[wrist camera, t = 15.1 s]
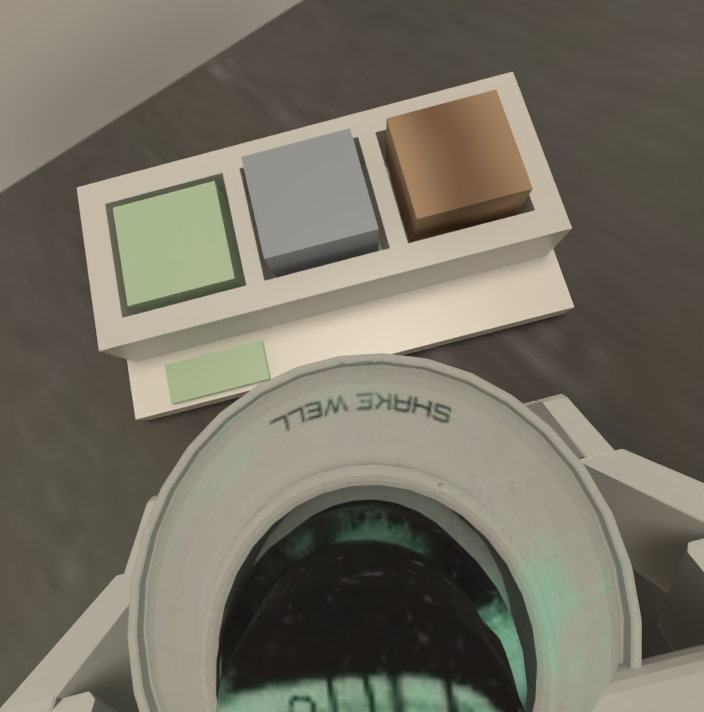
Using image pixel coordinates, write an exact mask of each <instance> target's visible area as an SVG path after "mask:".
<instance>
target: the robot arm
mask: <svg viewBox="0 0 704 712" xmlns="http://www.w3.org/2000/svg"><path fill="white" fill-rule="evenodd" d="M524 405H525V406H526V407H527V408H529V409H530V410H531V411H532V412H533V413H535V414H536V415H537V416H538V417H540V418H541V419H542V420H543V421H545V422H546V423H547V424H548V425H549V426H551V427H552V428H553V429H554V431H555V432H556V433H557V434H558V435H559V436H560V438H561V439H562V440H563V441H564V442H565V443H566V445H567V446H568V447H569V448H570V449H571V450H572V452H573V453H574V454H575V455H576V456H577V457H578V459H579V460H580V461H581V462H582V463H583V464H584V466H585V467H586V469H587V470H588V472H589V474H590V476H591V477H592V479H593V481H594V482H595V484H596V486H597V487H598V489H599V491H600V493H601V494H602V496H603V498H604V499H605V501H606V503H607V504H608V506H609V508H610V510H611V511H612V513H613V516H614V518H615V521H616V524H617V527H618V529H619V532H620V535H621V537H622V540H623V543H624V545H625V548H626V551H627V554H628V556H629V559H630V562H631V564H632V569H633V570H634V571H636V572H637V573H639V574H640V575H642V576H643V577H644V578H646V579H647V580H649V581H650V582H651V583H653V584H654V585H656V586H657V587H659V588H660V589H661V590H663V591H664V592H666V593H667V594H668V595H667V598H666V600H665V603H664V606H663V608H662V611H661V613H660V616H659V619H658V622H657V626H656V627H657V628H658V630H659V631H660V633H661V634H662V636H663V637H664V639H665V640H666V642H667V644H668V645H669V647H670V648H671V650H672V651H673V652H669V653H665V654H661V655H657V656H652V657H648V658H644V659H642V665H641V666H640V667H638V668H630V667H629V666H627V665H620V666H619V667H618V669H617V670H616V672H615V674H614V676H613V678H612V680H611V682H610V684H609V686H608V688H607V690H606V691H605V693H604V694H603V696H602V697H601V699H600V700H599V702H598V704H597V705H596V707H595V708H594V710H593V712H704V483H702V482H700V481H697V480H695V479H693V478H690V477H688V476H686V475H683V474H681V473H679V472H676V471H674V470H671V469H669V468H667V467H664V466H662V465H660V464H657V463H655V462H653V461H650V460H648V459H645V458H643V457H641V456H638V455H636V454H634V453H631V452H629V451H627V450H624V449H620V450H614V449H613V448H612V447H611V446H610V445H609V444H608V442H607V441H606V440H605V439H604V438H603V437H602V436H601V435H600V433H599V432H598V431H597V430H596V429H595V428H594V427H593V426H592V425H591V423H590V422H589V421H588V420H587V419H586V418H585V417H584V416H583V414H582V413H581V412H580V411H579V410H578V409H577V408H576V407H575V406H574V404H573V403H572V402H571V401H570V400H569V399H568V398H567V397H566V396H564V395H562V394H559V395H555V396H551V397H547V398H543V399H539V400H537V401H532V402H528V403H524ZM157 497H158V495H157V496H153V497H152V498H151V499H150V500H149V501H148V503H147V505H146V508H145V511H144V514H143V517H142V520H141V523H140V526H139V529H138V532H137V535H136V538H135V541H134V545H133V548H132V551H131V554H130V557H129V560H128V563H127V566H126V569H125V572H124V574H121V575H117V576H116V577H115V578H114V579H113V580H112V581H111V583H110V584H109V585H108V586H107V587H106V588H105V589H104V591H103V592H102V593H101V594H100V595H99V596H98V597H97V599H96V600H95V601H94V602H93V603H92V604H91V605H90V607H89V608H88V609H87V610H86V611H85V612H84V613H83V615H82V616H81V617H80V618H79V619H78V620H77V621H76V623H75V624H74V625H73V626H72V627H71V628H70V629H69V631H68V632H67V633H66V634H65V635H64V636H63V637H62V639H61V640H60V641H59V642H58V643H57V644H56V645H55V647H54V648H53V649H52V650H51V651H50V652H49V653H48V655H47V656H46V657H45V658H44V659H43V660H42V661H41V663H40V664H39V665H38V666H37V667H36V668H35V669H34V671H33V672H32V673H31V674H30V675H29V676H28V677H27V678H26V680H25V681H24V682H23V683H22V684H21V685H20V686H19V688H18V689H17V690H16V691H15V692H14V693H13V694H12V696H11V697H10V698H9V699H8V700H7V701H6V702H5V704H4V705H3V706H2V707H1V708H0V712H139V709H138V705H137V702H136V699H135V695H134V691H133V683H132V674H131V665H130V656H129V648H128V639H127V633H128V616H129V599H130V583H131V579H132V575H133V570H134V566H135V562H136V558H137V553H138V549H139V545H140V540H141V536H142V532H143V530H144V528H145V525H146V523H147V521H148V518H149V516H150V514H151V511H152V509H153V507H154V504H155V502H156V499H157Z"/></svg>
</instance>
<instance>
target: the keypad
mask: <svg viewBox="0 0 704 712" xmlns="http://www.w3.org/2000/svg"><path fill="white" fill-rule="evenodd" d="M492 90H497V92H498V95H499V98H500V101H501V103H502V106H503V109H504V111H505V114H506V117H507V120H508V122H509V125H510V128H511V131H512V133H513V136H514V139H515V142H516V144H517V147H518V150H519V152H520V155H521V158H522V161H523V163H524V166H525V169H526V172H527V174H528V177H529V180H530V183H531V185H532V188H533V189H532V191H531V192H530V194H529V196H528V197H527V199H526V200H525V202H524V204H523V205H522V207H521V208H520V210H519V212H518V213H517V215H515V216H511V217H508V218H504V219H500V220H496V221H492V222H488V223H485V224H481V225H477V226H473V227H469V228H465V229H462V230H458V231H454V232H450V233H446V234H442V235H439V236H435V237H431V238H427V239H423V240H419V241H415V242H412V243H410V241H409V237H408V234H407V231H406V227H405V224H404V220H403V217H402V214H401V210H400V207H399V204H398V200H397V197H396V193H395V190H394V187H393V183H392V180H391V177H390V173H389V170H388V166H387V163H386V118H390V117H394V116H398V115H401V114H405V113H409V112H413V111H416V110H420V109H424V108H428V107H431V106H435V105H439V104H443V103H447V102H450V101H454V100H458V99H462V98H465V97H469V96H473V95H477V94H480V93H484V92H488V91H492ZM349 128H350V130H351V133H352V137H353V140H354V144H355V147H356V151H357V154H358V158H359V162H360V165H361V169H362V172H363V176H364V179H365V183H366V186H367V190H368V193H369V197H370V200H371V204H372V208H373V211H374V215H375V218H376V222H377V225H378V229H379V251H377V252H373V253H369V254H366V255H362V256H358V257H354V258H350V259H346V260H343V261H339V262H335V263H331V264H327V265H323V266H319V267H316V268H312V269H308V270H304V271H300V272H296V273H293V274H289V275H285V276H281V277H277V278H276V276H275V275H274V273H273V272H272V270H271V269H270V267H269V266H268V264H267V263H266V261H265V260H264V256H263V252H262V248H261V243H260V239H259V234H258V230H257V225H256V221H255V216H254V212H253V207H252V203H251V198H250V194H249V189H248V185H247V180H246V176H245V171H244V167H243V162H242V158H241V157H243V156H247V155H250V154H254V153H258V152H262V151H266V150H269V149H273V148H277V147H281V146H284V145H288V144H292V143H296V142H300V141H303V140H307V139H311V138H315V137H318V136H322V135H326V134H330V133H333V132H337V131H341V130H345V129H349ZM212 181H215V182H216V184H217V185H218V187H219V189H220V190H221V192H222V193H223V195H224V196H225V198H226V199H227V201H228V202H229V206H230V210H231V215H232V220H233V225H234V229H235V234H236V239H237V243H238V248H239V253H240V258H241V262H242V267H243V272H244V276H245V281H246V286H243V287H239V288H235V289H231V290H227V291H223V292H220V293H216V294H212V295H208V296H204V297H200V298H197V299H193V300H189V301H185V302H181V303H177V304H174V305H170V306H166V307H162V308H158V309H154V310H151V311H147V312H143V313H140V312H138V311H136V310H134V309H132V308H130V307H128V305H127V298H126V292H125V285H124V279H123V272H122V266H121V259H120V253H119V246H118V240H117V233H116V227H115V220H114V213H113V208H114V207H118V206H121V205H125V204H129V203H133V202H136V201H140V200H144V199H148V198H152V197H155V196H159V195H163V194H167V193H170V192H174V191H178V190H182V189H186V188H189V187H193V186H197V185H201V184H204V183H208V182H212ZM77 193H78V200H79V208H80V215H81V222H82V230H83V237H84V244H85V252H86V259H87V266H88V274H89V281H90V288H91V296H92V303H93V310H94V317H95V325H96V332H97V339H98V347H99V351H101V352H104V353H107V354H111V355H114V356H117V357H121V358H124V359H127V364H128V370H129V377H130V384H131V391H132V397H133V404H134V411H135V417H136V420H152V419H156V418H160V417H164V416H168V415H172V414H176V413H180V412H184V411H187V410H191V409H195V408H199V407H203V406H207V405H211V404H215V403H219V402H223V401H226V400H230V399H234V398H238V397H242V396H244V395H245V394H246V393H248V392H249V391H251V390H252V389H253V388H255V387H256V386H258V385H260V384H262V383H264V382H266V381H268V380H270V379H273V378H275V377H277V376H279V375H281V374H283V373H285V372H287V371H289V370H291V369H294V368H296V367H299V366H302V365H306V364H310V363H314V362H318V361H322V360H326V359H329V358H333V357H337V356H346V355H362V354H378V353H386V354H394V355H406V354H410V353H414V352H418V351H421V350H425V349H429V348H433V347H437V346H441V345H445V344H449V343H453V342H457V341H460V340H464V339H468V338H472V337H476V336H480V335H484V334H488V333H492V332H496V331H499V330H503V329H507V328H511V327H515V326H519V325H523V324H527V323H531V322H535V321H538V320H542V319H546V318H550V317H554V316H558V315H562V314H564V313H566V312H568V311H569V310H571V309H572V308H574V305H573V302H572V299H571V297H570V294H569V291H568V289H567V286H566V283H565V280H564V278H563V275H562V272H561V269H560V267H559V264H558V261H557V258H556V256H555V253H554V250H553V248H554V247H555V246H556V245H557V244H558V243H559V242H560V241H561V240H562V239H563V237H564V236H565V235H566V234H567V233H568V232H569V231H570V230H571V229H572V227H571V224H570V222H569V219H568V217H567V214H566V211H565V209H564V206H563V203H562V201H561V198H560V195H559V193H558V190H557V187H556V185H555V182H554V180H553V177H552V174H551V172H550V169H549V166H548V164H547V161H546V158H545V156H544V153H543V150H542V148H541V145H540V142H539V140H538V137H537V135H536V132H535V129H534V127H533V124H532V121H531V119H530V116H529V113H528V111H527V108H526V105H525V103H524V100H523V98H522V95H521V92H520V90H519V87H518V84H517V82H516V79H515V76H514V74H513V72H510V73H506V74H502V75H499V76H495V77H491V78H487V79H484V80H480V81H476V82H472V83H469V84H465V85H461V86H457V87H454V88H450V89H446V90H442V91H438V92H435V93H431V94H427V95H423V96H420V97H416V98H412V99H408V100H405V101H401V102H397V103H393V104H390V105H386V106H382V107H378V108H375V109H371V110H367V111H363V112H359V113H356V114H352V115H348V116H344V117H341V118H337V119H333V120H329V121H326V122H322V123H318V124H314V125H311V126H307V127H303V128H299V129H295V130H292V131H288V132H284V133H280V134H277V135H273V136H269V137H265V138H262V139H258V140H254V141H250V142H247V143H243V144H239V145H235V146H231V147H228V148H224V149H220V150H216V151H213V152H209V153H205V154H201V155H198V156H194V157H190V158H186V159H183V160H179V161H175V162H171V163H168V164H164V165H160V166H156V167H152V168H149V169H145V170H141V171H137V172H134V173H130V174H126V175H122V176H119V177H115V178H111V179H107V180H104V181H100V182H96V183H92V184H88V185H85V186H81V187H77Z"/></svg>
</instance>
